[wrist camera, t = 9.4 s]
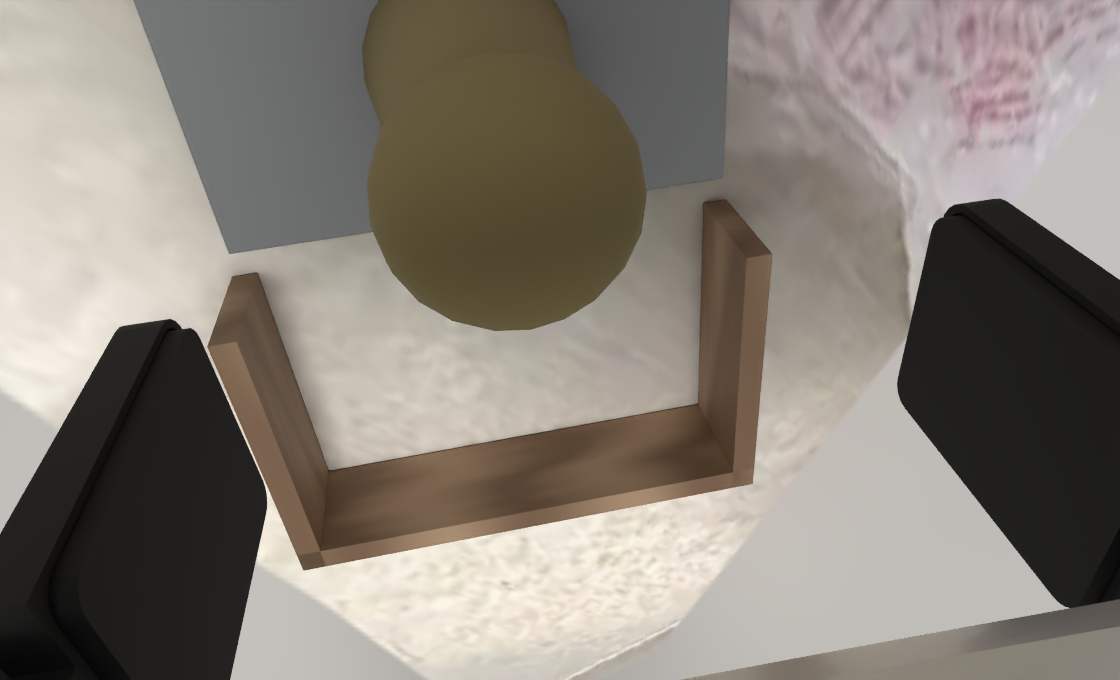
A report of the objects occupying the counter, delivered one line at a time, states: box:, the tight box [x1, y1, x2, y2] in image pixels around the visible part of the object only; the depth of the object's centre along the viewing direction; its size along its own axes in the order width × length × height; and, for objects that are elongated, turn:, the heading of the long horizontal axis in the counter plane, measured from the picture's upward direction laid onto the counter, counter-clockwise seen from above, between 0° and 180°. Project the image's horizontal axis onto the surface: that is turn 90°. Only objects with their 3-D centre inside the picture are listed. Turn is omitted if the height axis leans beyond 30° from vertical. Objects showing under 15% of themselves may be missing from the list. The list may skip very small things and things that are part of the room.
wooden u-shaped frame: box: [207, 200, 772, 570], centre depth 27 cm, size 17×10×4 cm, turn 95°
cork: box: [362, 0, 646, 331], centre depth 18 cm, size 6×6×11 cm
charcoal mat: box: [134, 0, 730, 254], centre depth 22 cm, size 16×9×1 cm, turn 95°
